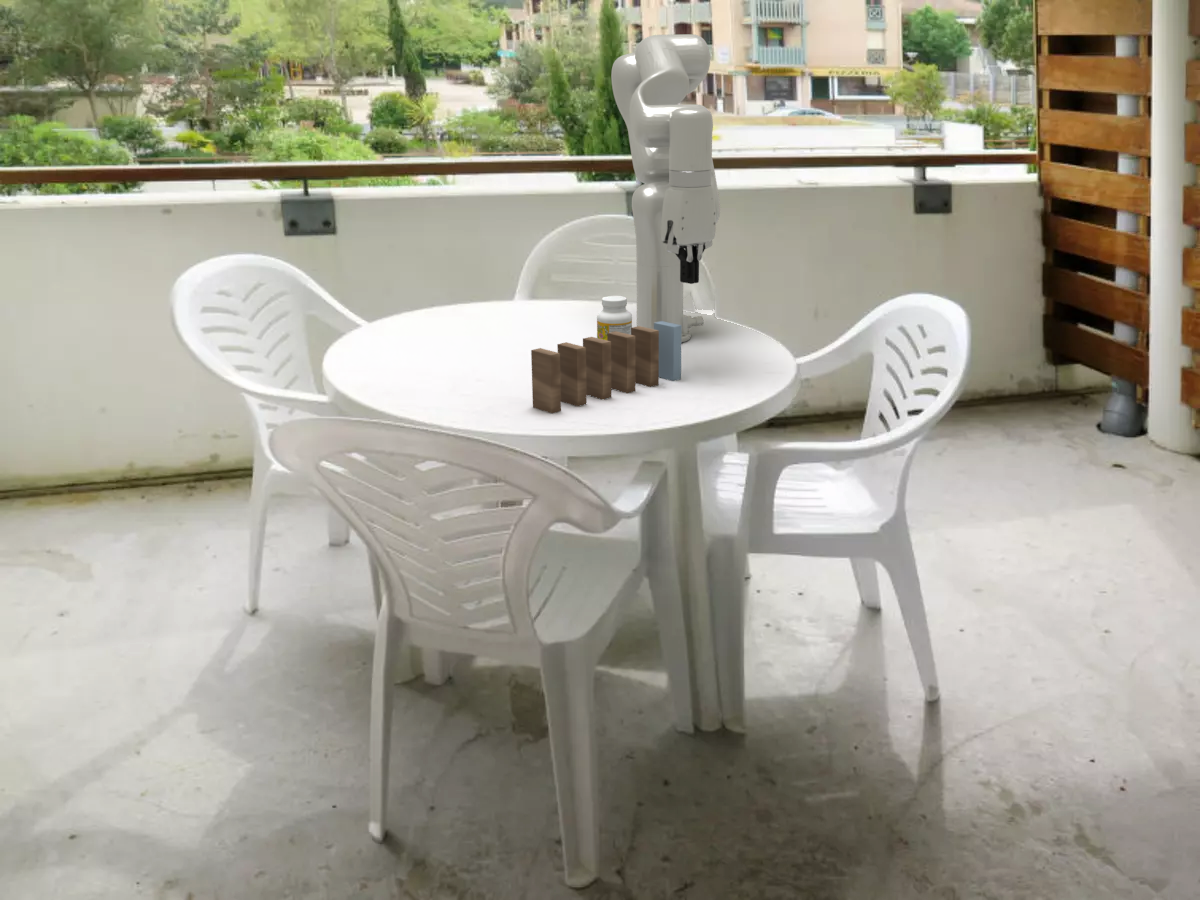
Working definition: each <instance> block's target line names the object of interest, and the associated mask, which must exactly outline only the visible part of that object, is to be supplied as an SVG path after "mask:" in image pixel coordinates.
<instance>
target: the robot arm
mask: <svg viewBox="0 0 1200 900" xmlns="http://www.w3.org/2000/svg"><path fill="white" fill-rule="evenodd" d="M710 66H711V52H710V48H709V45H708V43H707V42H706V40H705V39H704V38H703V37H702V36H700V35H698V34H695V33H694V34H691V33H689V34H683V33H682V34H655V35H649V36H647V37H644V38H643V39H642V40H641V41H640V42H639V43H638V44H637V45H636V48H635V51H634V52H629V53H626V54H623V55H621V56H618V57H617V58H616V59H615V60H614V62H613V64H612V68H611V72H610V73H611V87H612V93H613V97H614V101H615V104H616V105H617V106H616V107H617V109H618V110H619V113H620V114H621V117H622V119H623V120H624V122H625V123H624V124H625V125H626V128H627V131H628V132H627V133H628V141H629V147H630V153H631V159H632V166H633V170H634V174H635V176H636V178H637V180H638V181H639V182H641V183H643V184H641V185H640V186H639V187H637V188H636V189H635V191H633V194H632V196H631V210H632V218H633V225H634V230H635V231H634V232H635V246H636V247H635V248H636V249H635V250H636V251H635V252H636V253H635V254H636V327H637V326H641V327H646V328H650V329H654V323H655V322H660V321H664V322H668V323H673V324H678V325H682V330H681V343H685V342H687V341H689V340H690V339H691V335H692V334H691V331H690V330H688V329H691V327H700V326H703V325H705V319H704V317H703V316H702V315H701V316H693V317H692V316H691V315H686V314H684V284H689V285H693V284H698V283H699V281H700V261H701V260H702V258H703V254H704V252H705V250H706V249H709V248H711V247H712V246H713V240H714V239H715V237H716V233H717V232H716V230H717V229H716V228H717V227H716V226H717V223H718V222H719V218H720V214H721V202H720V195H719V194H720V193H719V187H718V184H717V178H716V172H715V167H714V161H713V130H714V129H713V128H714V121H713V120H714V119H713V114H712V112H711V111H710V110H709V109H708V108H707V107H706V106H704V105H701V104H694V103H693V104H692V103H691V104H690V103H689V104H680V103H682V101H684V99H685V98H686V96H687V95H689V94H691V93H693V92H694V91H695V90H696V89H697V88H698V87H699V86H700V84H702V82H703V81H704V80H705V79H706V77H707V75H708V72H709V71H710Z"/></svg>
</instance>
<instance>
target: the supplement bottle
mask: <svg viewBox="0 0 1200 900" xmlns="http://www.w3.org/2000/svg"><path fill="white" fill-rule="evenodd" d="M627 299H628V298H627V297H625V296H622V295H609V296H603V297H602V298H601V305H602V310H600V311H599V312H598V313H597V315H596V338H599V339H603V340H607V333H610V332H615V331H617V332H621V333H625V334H629V335H631V328H633V316H632V313H631V311H629V310H627V304H628V301H627Z"/></svg>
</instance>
